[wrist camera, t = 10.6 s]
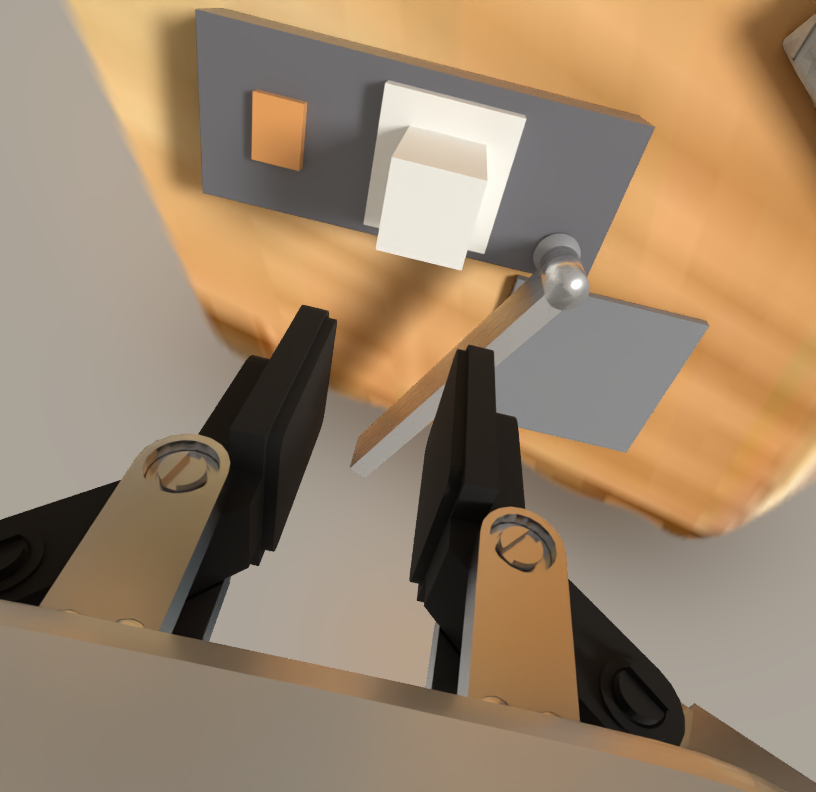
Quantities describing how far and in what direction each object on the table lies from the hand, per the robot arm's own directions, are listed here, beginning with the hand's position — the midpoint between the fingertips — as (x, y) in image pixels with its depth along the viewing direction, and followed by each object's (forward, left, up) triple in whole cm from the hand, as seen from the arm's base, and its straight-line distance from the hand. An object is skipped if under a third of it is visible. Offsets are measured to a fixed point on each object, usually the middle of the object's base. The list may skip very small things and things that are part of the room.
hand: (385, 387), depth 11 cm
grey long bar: (+3, -10, -17) cm, 20 cm away
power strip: (-1, 0, -21) cm, 21 cm away
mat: (+12, -11, -21) cm, 27 cm away
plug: (0, 0, -21) cm, 21 cm away
